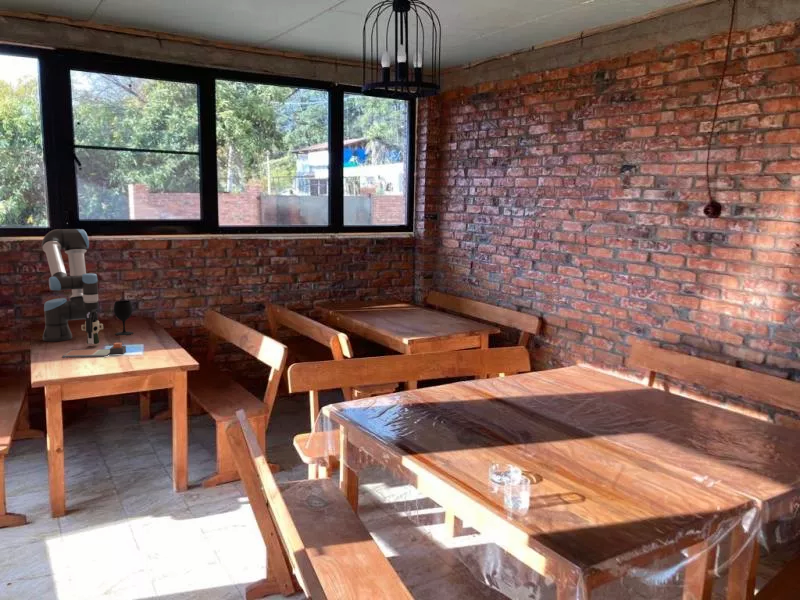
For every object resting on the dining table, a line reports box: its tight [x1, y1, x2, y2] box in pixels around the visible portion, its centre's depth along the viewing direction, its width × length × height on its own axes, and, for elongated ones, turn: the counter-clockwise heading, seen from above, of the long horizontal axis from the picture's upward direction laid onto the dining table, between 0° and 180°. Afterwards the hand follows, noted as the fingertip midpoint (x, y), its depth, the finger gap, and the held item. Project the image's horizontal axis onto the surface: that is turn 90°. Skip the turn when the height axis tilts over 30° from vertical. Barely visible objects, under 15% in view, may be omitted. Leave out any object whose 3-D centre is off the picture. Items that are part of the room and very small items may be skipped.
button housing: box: [109, 345, 127, 355], centre depth 341 cm, size 6×6×4 cm
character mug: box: [80, 319, 104, 345], centre depth 355 cm, size 11×7×13 cm, turn 116°
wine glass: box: [113, 300, 134, 336], centre depth 389 cm, size 10×10×20 cm
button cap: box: [112, 342, 123, 348], centre depth 341 cm, size 3×3×3 cm
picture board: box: [61, 348, 110, 359], centre depth 339 cm, size 15×22×1 cm
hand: (93, 342), depth 356 cm, fingers closed on character mug, 7 cm apart
